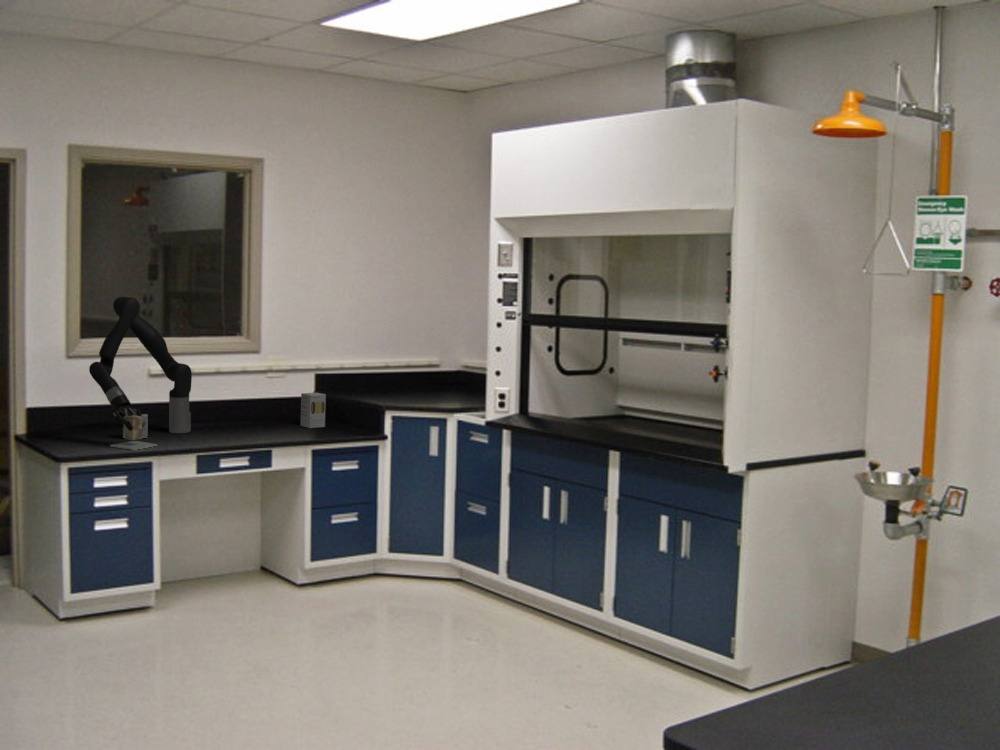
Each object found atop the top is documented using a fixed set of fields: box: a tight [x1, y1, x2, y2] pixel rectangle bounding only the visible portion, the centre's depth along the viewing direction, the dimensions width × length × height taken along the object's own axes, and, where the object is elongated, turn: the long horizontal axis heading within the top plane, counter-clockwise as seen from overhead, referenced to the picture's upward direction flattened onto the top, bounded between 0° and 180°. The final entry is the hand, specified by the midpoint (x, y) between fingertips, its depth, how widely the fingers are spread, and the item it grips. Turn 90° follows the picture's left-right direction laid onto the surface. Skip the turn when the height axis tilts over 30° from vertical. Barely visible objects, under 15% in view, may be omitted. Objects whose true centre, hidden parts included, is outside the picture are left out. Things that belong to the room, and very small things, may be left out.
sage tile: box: [109, 440, 158, 451], centre depth 478 cm, size 14×14×1 cm
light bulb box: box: [122, 413, 149, 439], centre depth 499 cm, size 11×7×11 cm, turn 105°
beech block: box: [124, 415, 143, 441], centre depth 477 cm, size 5×5×10 cm
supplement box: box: [300, 392, 327, 429], centre depth 549 cm, size 10×9×17 cm
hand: (136, 428), depth 476 cm, fingers closed on beech block, 5 cm apart
